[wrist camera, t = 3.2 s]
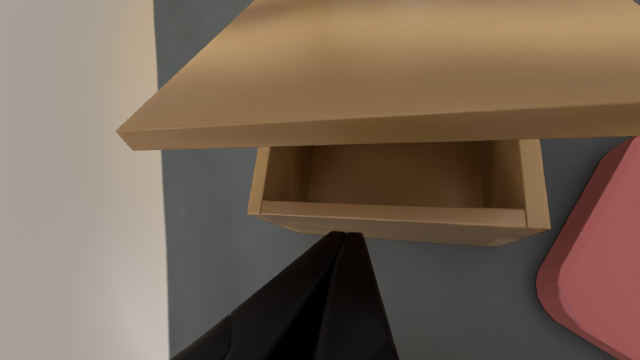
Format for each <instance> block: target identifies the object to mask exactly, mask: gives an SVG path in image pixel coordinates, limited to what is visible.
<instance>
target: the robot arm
mask: <svg viewBox="0 0 640 360" xmlns="http://www.w3.org/2000/svg"><path fill="white" fill-rule="evenodd" d="M170 360H399V357H398V353H397V350H396V346H395V344H394V340H393V337H392V333H391V330H390V326H389V323H388V319H387V316H386V312H385V309H384V305H383V302H382V298H381V295H380V291H379V288H378V284H377V281H376V277H375V274H374V270H373V267H372V263H371V260H370V256H369V253H368V249H367V246H366V242H365V239H364V235H363V233H361V232H348V233H346V232H344V231H331V232H329V233H328V234H327V235H326V236H324V237H323V238H322V239H321V240H319V241H318V242H317V243H316V244H314V245H313V246H312V247H311V248H310V249H308V250H307V251H306V252H305V253H303V254H302V255H301V256H300V257H299V258H297V259H296V260H295V261H294V262H292V263H291V264H290V265H289V266H288V267H286V268H285V269H284V270H283V271H281V272H280V273H279V274H278V275H277V276H275V277H274V278H273V279H272V280H270V281H269V282H268V283H267V284H265V285H264V286H263V287H262V288H261V289H259V290H258V291H257V292H256V293H254V294H253V295H252V296H251V297H250V298H248V299H247V300H246V301H245V302H243V303H242V304H241V305H240V306H239V307H237V308H236V309H235V310H234V311H232V313H231V315H227V316H226V317H225V318H224V319H222V320H221V321H220V322H219V323H218V324H216V325H215V326H214V327H213V328H211V329H210V330H209V331H207V332H206V333H205V334H204V335H202V336H201V337H200V338H198V339H197V340H196V341H195V342H193V343H192V344H191V345H189V346H188V347H187V348H185V349H184V350H183V351H181V352H180V353H178V354H177V355H176V356H174V357H173V358H171V359H170Z"/></svg>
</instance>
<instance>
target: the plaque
mask: <svg viewBox="0 0 640 360" xmlns="http://www.w3.org/2000/svg"><path fill="white" fill-rule="evenodd" d="M536 287H537V294H538V298H539V300H540V302H541V304H542V305H543V307H544V309H545V310H546V311H547V313H548V314H549V315H550V316H551V317H552V318H553V319H554V320H555V321H556V322H558V323H560V324H561V325H563V326H565V327H566V328H568V329H569V330H571V331H573V332H574V333H576V334H578V335H579V336H581V337H582V338H584V339H586V340H587V341H589V342H591V343H592V344H594V345H596V346H597V347H599V348H600V349H602V350H604V351H605V352H607V353H609V354H610V355H612V356H614V357H615V358H617V359H618V360H640V136H633V137H632V138H630V139H628V140H627V141H625V142H623V143H622V144H620V145H619V146H617V147H615V148H614V149H612V150H611V151H610V152H609V153H608V154H607V155H605V156H604V157H603V158H602V159H601V161H600V163H599V165H598V166H597V168H596V170H595V172H594V174H593V175H592V177H591V179H590V181H589V182H588V184H587V186H586V188H585V189H584V191H583V193H582V195H581V197H580V198H579V200H578V202H577V204H576V205H575V207H574V209H573V211H572V212H571V214H570V216H569V218H568V219H567V221H566V223H565V225H564V227H563V228H562V230H561V232H560V234H559V235H558V237H557V239H556V241H555V242H554V244H553V246H552V248H551V250H550V251H549V253H548V255H547V257H546V258H545V260H544V262H543V264H542V265H541V267H540V269H539V271H538V275H537V279H536Z"/></svg>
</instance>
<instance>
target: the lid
mask: <svg viewBox="0 0 640 360" xmlns="http://www.w3.org/2000/svg"><path fill="white" fill-rule="evenodd" d="M116 132H117V133H118V135H119V136H120V137H121V138H122V139H123V140H124V141H125V142H126V143H127V145H128V146H129V147H130V148H131V149H132V150H134V151H136V150H172V149H207V148H242V147H277V146H312V145H347V144H382V143H418V142H453V141H488V140H523V139H558V138H593V137H628V136H640V5H638V4H637V3H636V2H634V1H633V0H255V1H254V2H252V3H251V4H250V5H249V6H248V7H247V8H246V9H245V10H244V11H243V12H242V13H241V14H240V15H239V16H238V17H237V18H235V19H234V20H233V21H232V22H231V23H230V24H229V25H228V26H227V27H226V28H225V29H224V30H223V31H222V32H221V33H219V34H218V35H217V36H216V37H215V38H214V39H213V40H212V41H211V42H210V43H209V44H208V45H207V46H206V47H205V48H203V49H202V50H201V51H200V52H199V53H198V54H197V55H196V56H195V57H194V58H193V59H192V60H191V61H190V62H189V63H187V64H186V65H185V66H184V67H183V68H182V69H181V70H180V71H179V72H178V73H177V74H176V75H175V76H174V77H173V78H171V79H170V80H169V81H168V82H167V83H166V84H165V85H164V86H163V87H162V88H161V89H160V90H159V91H158V92H157V93H156V94H155V95H153V96H152V97H151V98H150V99H149V100H148V101H147V102H146V103H145V104H144V105H143V106H142V107H141V108H140V109H139V110H137V111H136V112H135V113H134V114H133V115H132V116H131V117H130V118H129V119H128V120H127V121H126V122H125V123H124V124H122V125H121V126H120V127H119V128H118V129H117V130H116Z"/></svg>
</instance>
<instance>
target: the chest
mask: <svg viewBox="0 0 640 360" xmlns="http://www.w3.org/2000/svg"><path fill="white" fill-rule="evenodd" d="M247 214H249V215H252V216H254V217H257V218H260V219H262V220H265V221H268V222H270V223H273V224H276V225H278V226H281V227H284V228H286V229H289V230H292V231H294V232H297V233H303V234H318V235H327V234H328V233H329V232H331V231H344V232H346V233H348V232H361V233H363V235H364V238H376V239H391V240H405V241H420V242H434V243H449V244H463V245H478V246H492V247H497V246H500V245H503V244H506V243H510V242H513V241H516V240H519V239H522V238H525V237H528V236H531V235H534V234H537V233H540V232H543V231H546V230H549V229H551V224H550V216H549V208H548V200H547V193H546V185H545V177H544V169H543V161H542V153H541V146H540V139H523V140H488V141H453V142H418V143H382V144H347V145H312V146H277V147H258V153H257V159H256V164H255V170H254V176H253V182H252V188H251V194H250V199H249V205H248V211H247Z"/></svg>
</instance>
